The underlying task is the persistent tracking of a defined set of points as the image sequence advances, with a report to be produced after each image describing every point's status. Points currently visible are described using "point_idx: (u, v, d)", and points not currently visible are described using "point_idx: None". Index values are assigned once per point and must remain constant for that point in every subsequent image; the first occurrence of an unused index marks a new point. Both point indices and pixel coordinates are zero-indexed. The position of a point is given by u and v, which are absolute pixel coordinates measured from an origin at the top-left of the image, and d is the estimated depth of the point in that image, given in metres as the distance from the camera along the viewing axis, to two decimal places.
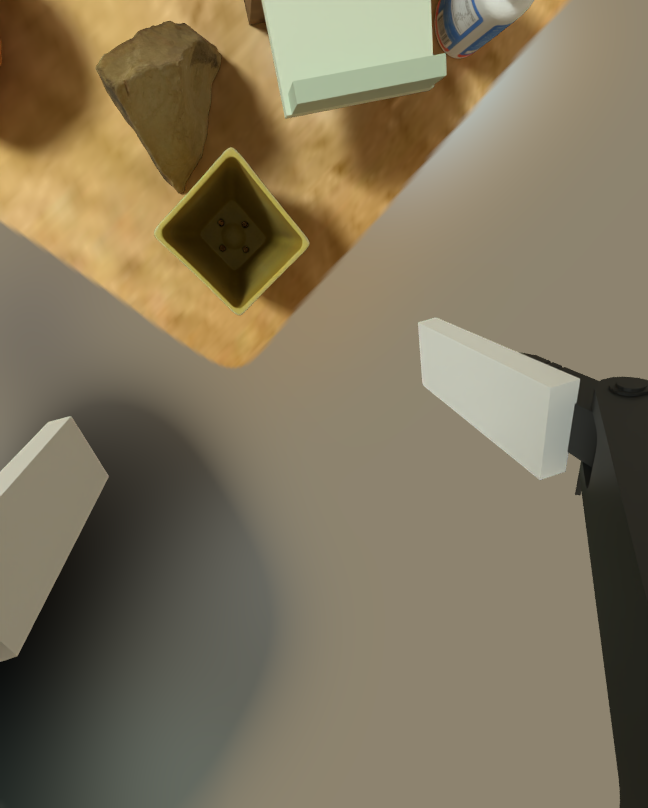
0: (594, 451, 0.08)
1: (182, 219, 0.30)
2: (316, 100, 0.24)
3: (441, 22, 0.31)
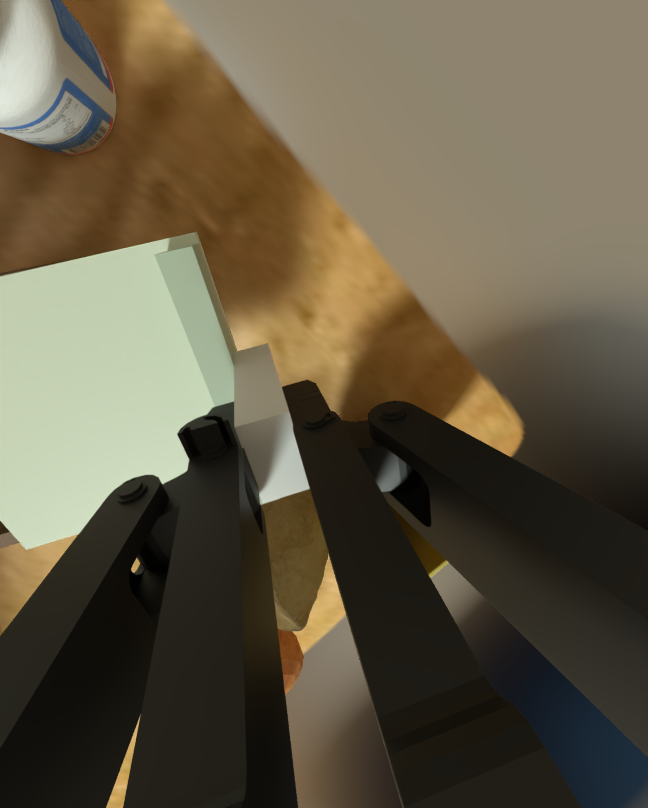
0: None
1: None
2: None
3: (79, 148, 0.16)
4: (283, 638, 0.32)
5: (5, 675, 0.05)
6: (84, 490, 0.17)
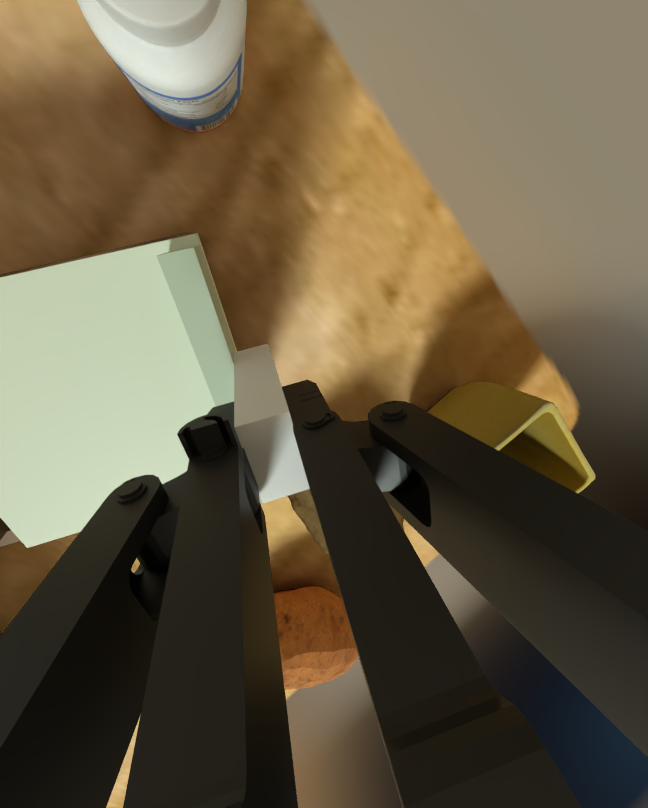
0: None
1: None
2: None
3: (210, 125, 0.17)
4: None
5: (5, 675, 0.05)
6: (85, 489, 0.17)
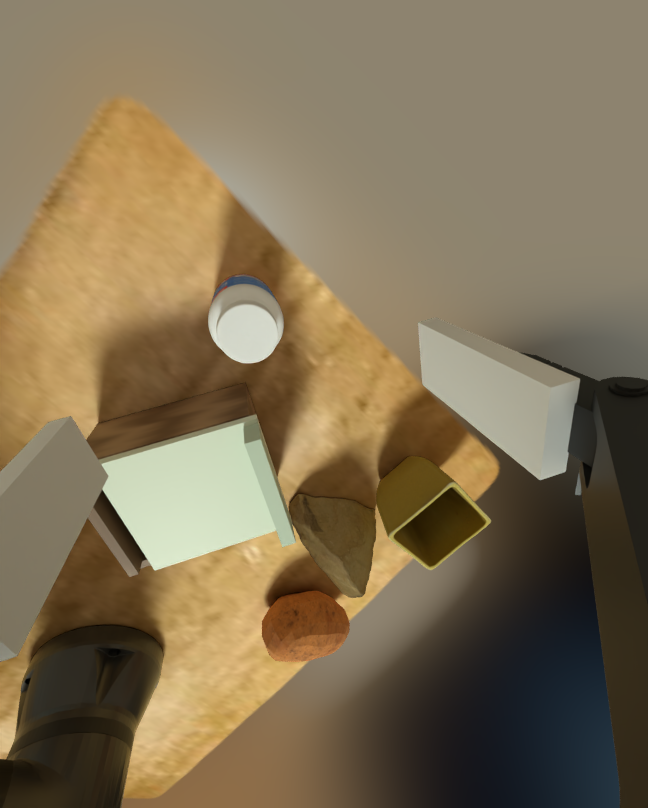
0: (594, 451, 0.08)
1: (410, 536, 0.41)
2: (291, 530, 0.30)
3: None
4: (337, 609, 0.47)
5: None
6: (189, 538, 0.31)
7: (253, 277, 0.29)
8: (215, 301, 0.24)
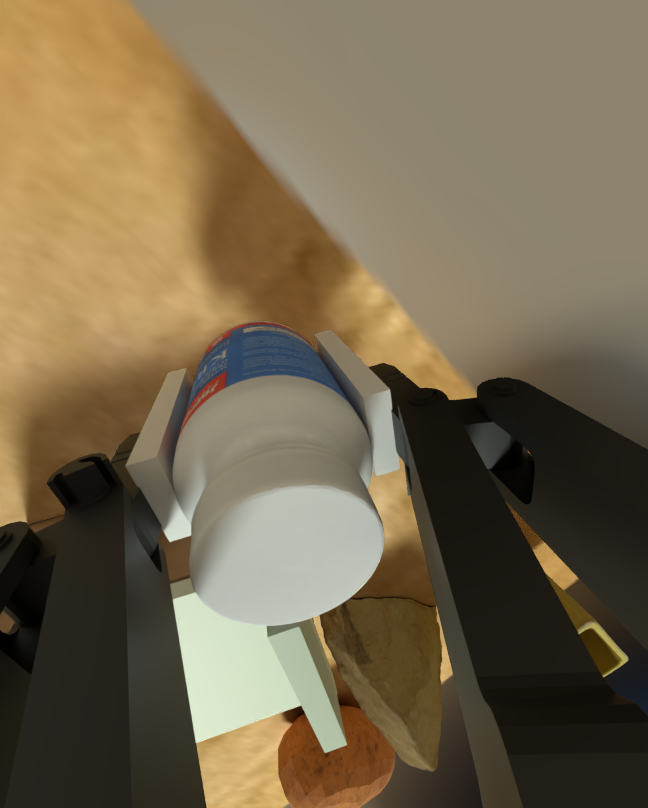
0: None
1: None
2: (341, 731, 0.18)
3: None
4: (380, 737, 0.34)
5: None
6: None
7: (284, 330, 0.13)
8: (191, 433, 0.08)
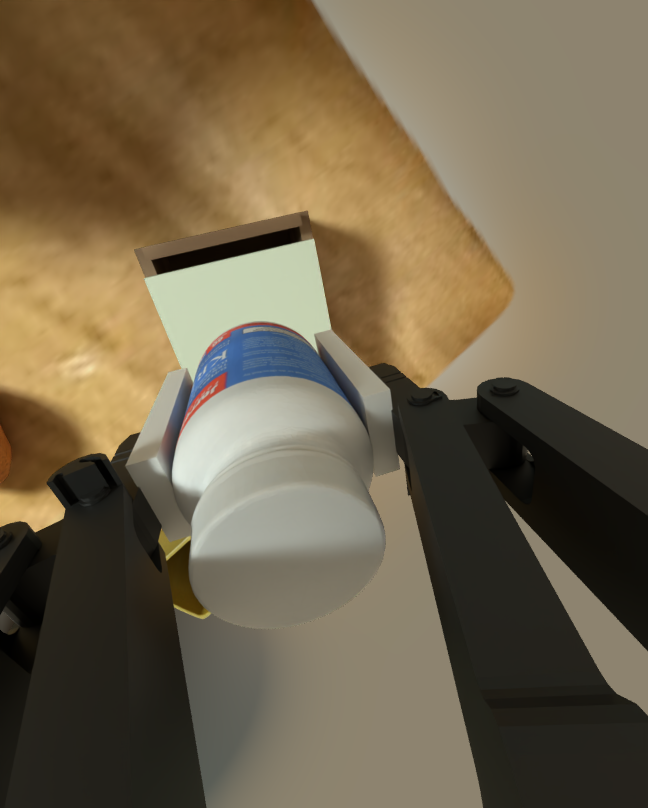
0: None
1: None
2: None
3: None
4: None
5: None
6: (200, 327, 0.26)
7: (284, 331, 0.13)
8: (191, 434, 0.08)
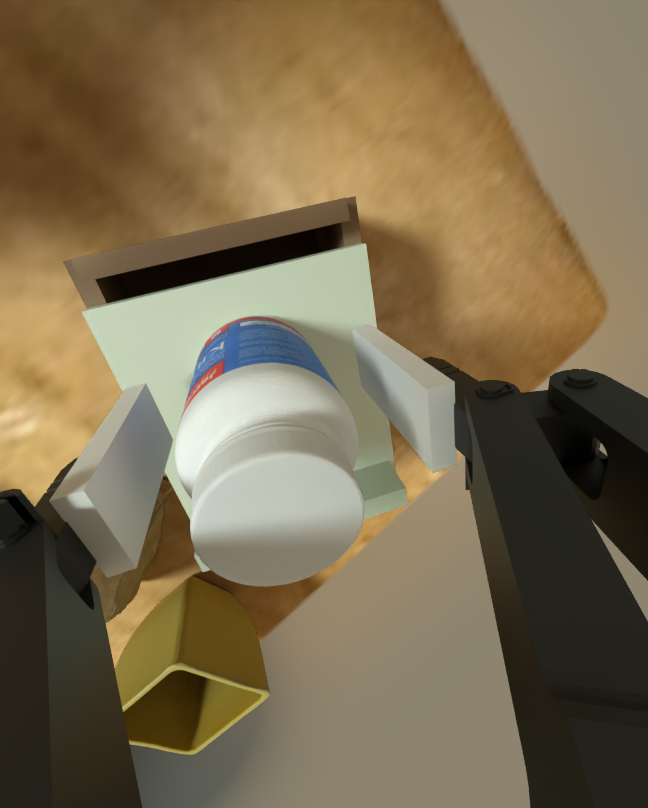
0: (473, 449, 0.09)
1: None
2: None
3: None
4: None
5: None
6: (180, 386, 0.16)
7: (279, 324, 0.14)
8: (192, 414, 0.09)
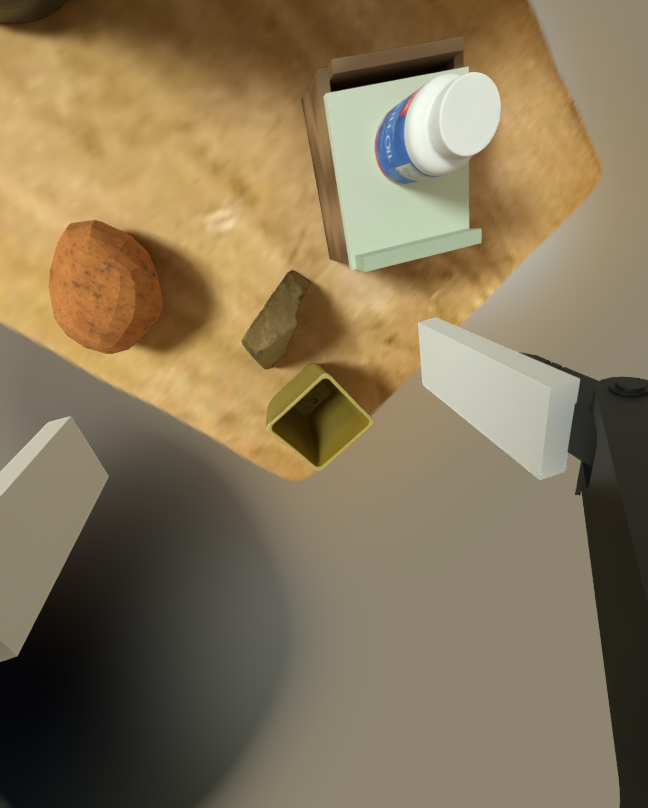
0: (594, 451, 0.08)
1: None
2: (380, 267, 0.31)
3: None
4: (143, 334, 0.35)
5: None
6: (362, 150, 0.29)
7: None
8: (423, 90, 0.22)
